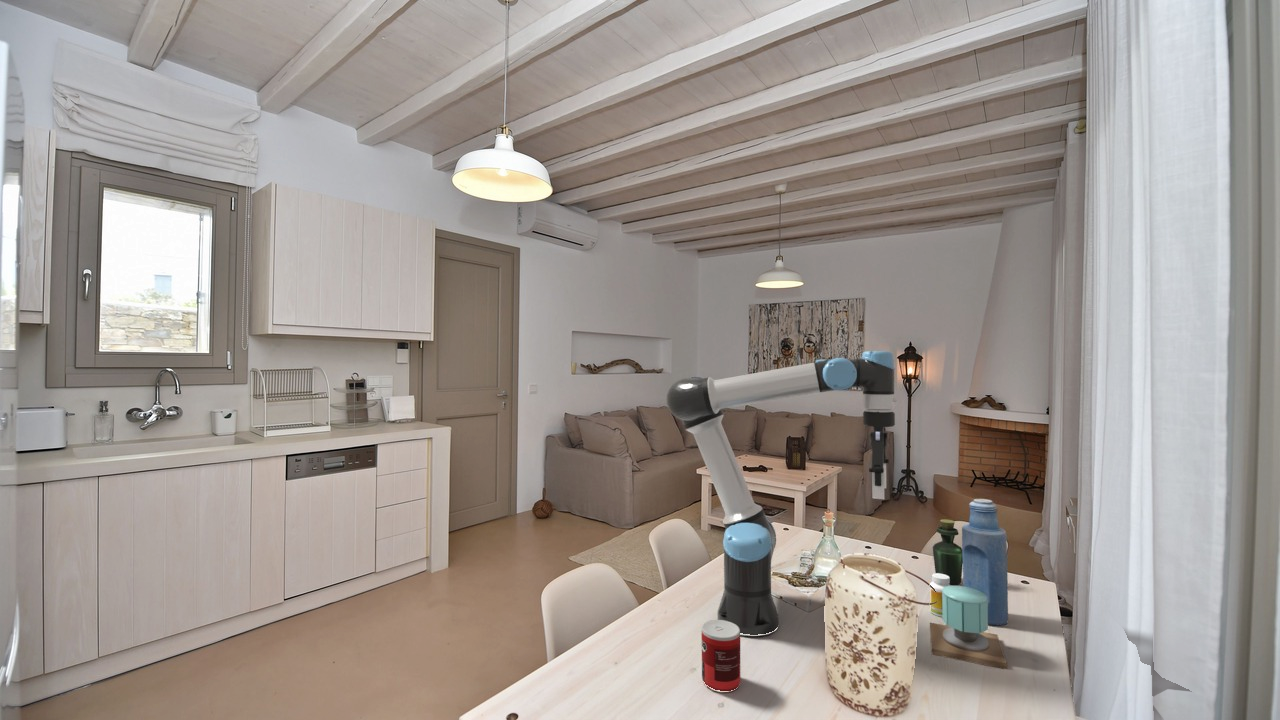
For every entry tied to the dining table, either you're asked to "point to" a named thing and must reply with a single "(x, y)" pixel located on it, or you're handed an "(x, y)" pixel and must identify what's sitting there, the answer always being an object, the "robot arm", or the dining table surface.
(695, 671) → the dining table surface
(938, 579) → the supplement bottle
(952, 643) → the stud post
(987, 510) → the bottle
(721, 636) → the canned food
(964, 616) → the cap
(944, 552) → the potion bottle
